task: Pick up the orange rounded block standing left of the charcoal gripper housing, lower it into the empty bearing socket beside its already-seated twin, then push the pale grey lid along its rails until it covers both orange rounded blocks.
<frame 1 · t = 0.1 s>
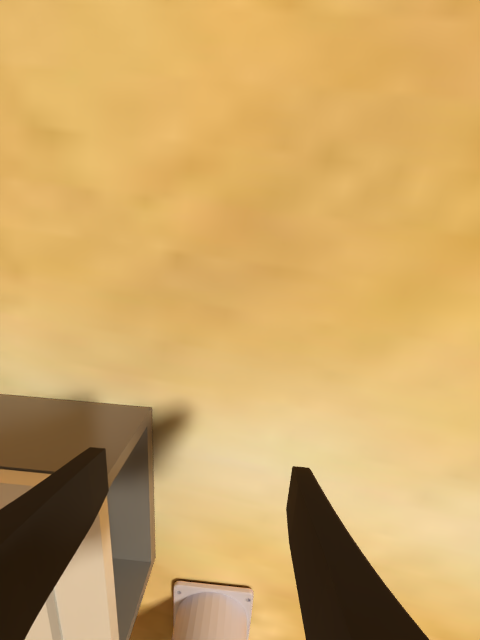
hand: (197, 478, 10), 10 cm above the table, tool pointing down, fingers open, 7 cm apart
housing: (57, 480, 23), on the table
lid: (54, 586, 16), point 7 cm above the table, slide at 0.0 cm
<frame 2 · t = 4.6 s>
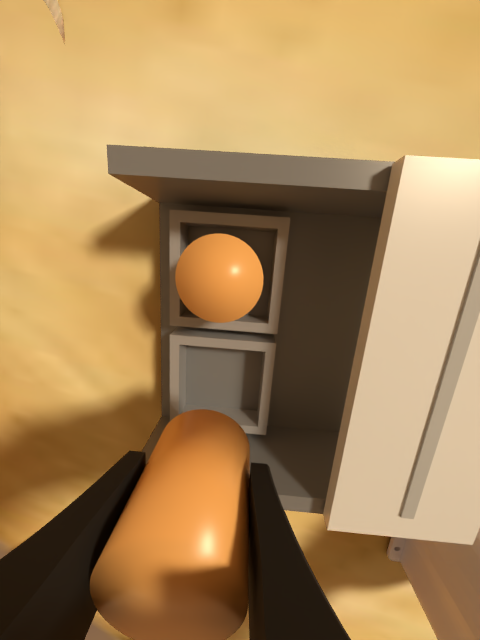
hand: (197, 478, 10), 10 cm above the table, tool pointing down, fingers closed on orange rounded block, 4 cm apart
housing: (289, 327, 18), on the table
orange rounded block: (204, 448, 11), point 8 cm above the table, touching gripper
lid: (439, 383, 11), point 7 cm above the table, slide at 0.0 cm
when the fingers open (3 cm above the table, at t = 6.1 s): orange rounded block stays where it is, resting on housing.
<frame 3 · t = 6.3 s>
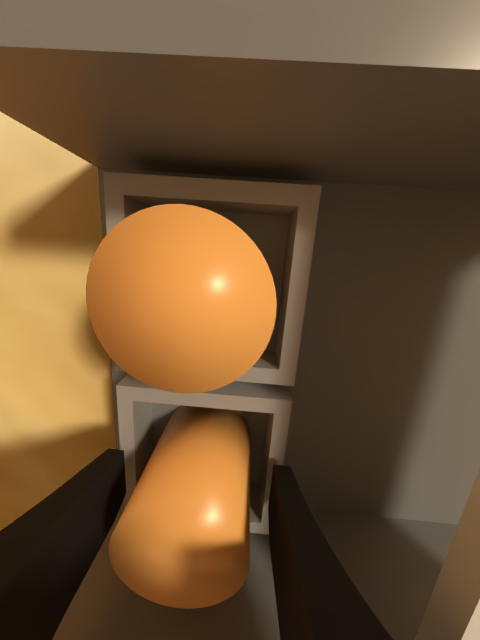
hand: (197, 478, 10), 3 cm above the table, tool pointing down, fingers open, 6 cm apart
housing: (309, 364, 12), on the table
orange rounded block: (208, 435, 12), point 1 cm above the table, touching housing
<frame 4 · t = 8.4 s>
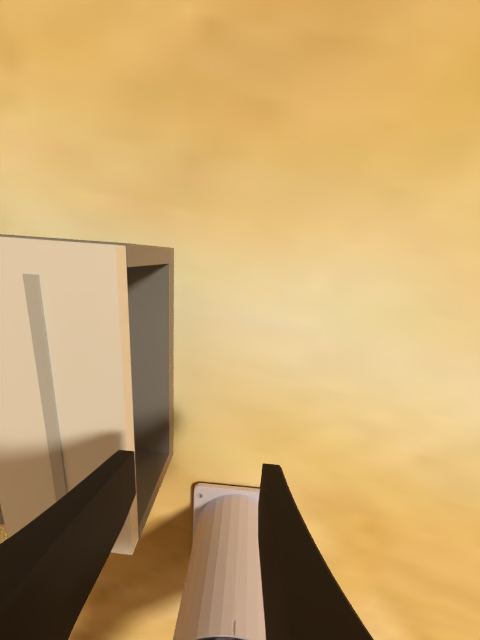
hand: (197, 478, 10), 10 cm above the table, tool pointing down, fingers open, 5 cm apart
housing: (59, 352, 19), on the table
lid: (57, 416, 12), point 7 cm above the table, slide at 0.0 cm
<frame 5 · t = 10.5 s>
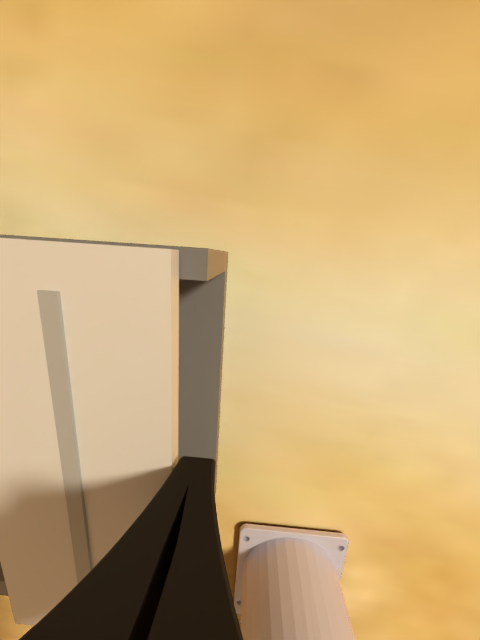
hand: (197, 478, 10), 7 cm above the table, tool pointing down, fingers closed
housing: (85, 375, 16), on the table
lid: (80, 473, 9), point 7 cm above the table, slide at 0.9 cm, touching gripper
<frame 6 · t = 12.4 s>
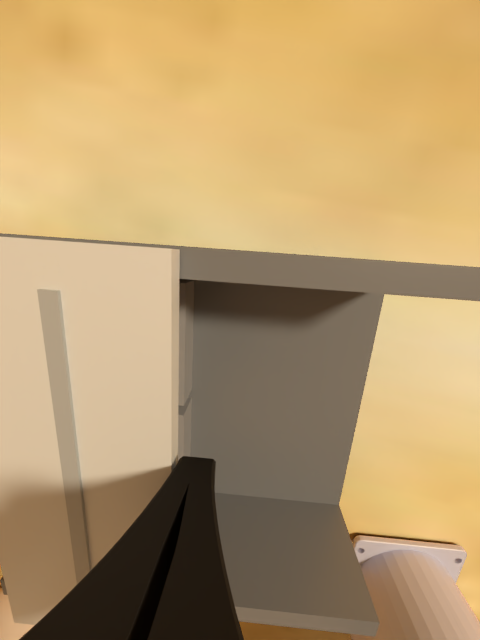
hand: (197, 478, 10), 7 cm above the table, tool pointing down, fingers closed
milk bottle: (10, 609, 23), on the table
housing: (213, 386, 16), on the table
lid: (79, 473, 9), point 7 cm above the table, slide at 9.4 cm, touching gripper
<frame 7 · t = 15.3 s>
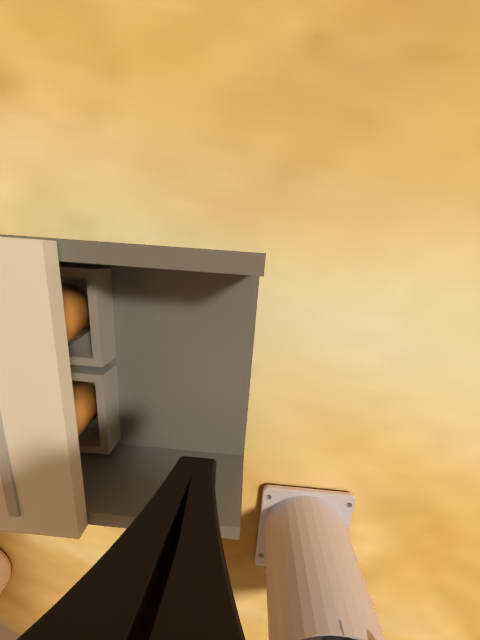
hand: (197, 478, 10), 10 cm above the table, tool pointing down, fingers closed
housing: (137, 356, 20), on the table
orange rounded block: (78, 399, 20), point 1 cm above the table, touching housing
lid: (0, 404, 13), point 7 cm above the table, slide at 9.4 cm
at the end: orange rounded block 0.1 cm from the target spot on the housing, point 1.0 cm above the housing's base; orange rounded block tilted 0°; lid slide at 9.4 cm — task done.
